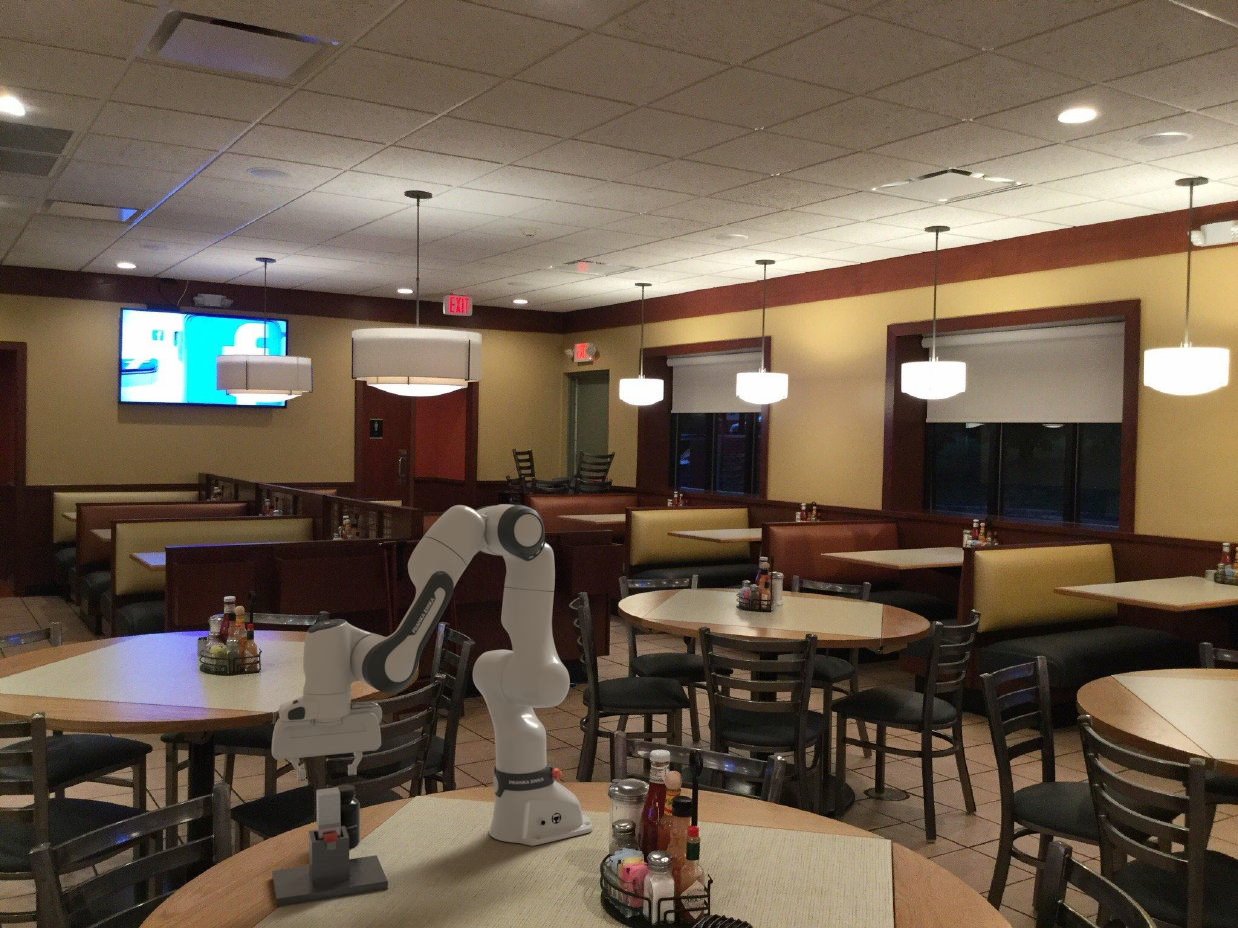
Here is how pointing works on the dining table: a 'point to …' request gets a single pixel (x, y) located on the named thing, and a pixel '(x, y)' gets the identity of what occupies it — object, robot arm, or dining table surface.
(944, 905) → the dining table surface
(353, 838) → the supplement bottle
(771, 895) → the dining table surface
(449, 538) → the robot arm
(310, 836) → the stand
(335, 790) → the column
